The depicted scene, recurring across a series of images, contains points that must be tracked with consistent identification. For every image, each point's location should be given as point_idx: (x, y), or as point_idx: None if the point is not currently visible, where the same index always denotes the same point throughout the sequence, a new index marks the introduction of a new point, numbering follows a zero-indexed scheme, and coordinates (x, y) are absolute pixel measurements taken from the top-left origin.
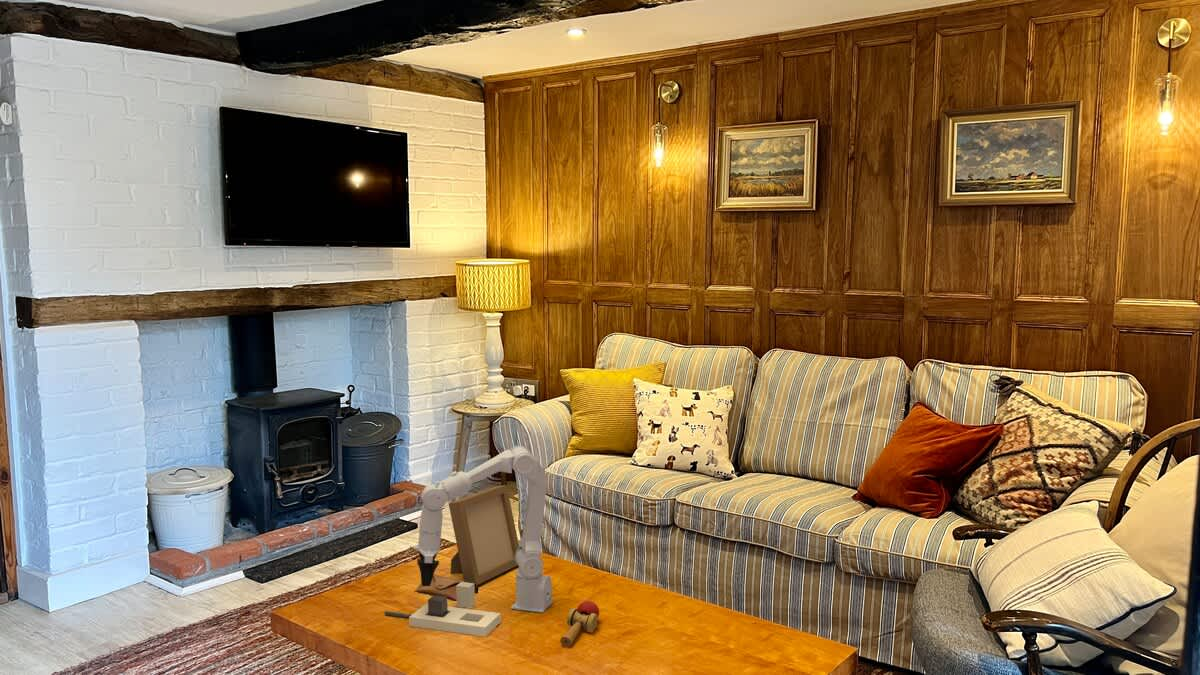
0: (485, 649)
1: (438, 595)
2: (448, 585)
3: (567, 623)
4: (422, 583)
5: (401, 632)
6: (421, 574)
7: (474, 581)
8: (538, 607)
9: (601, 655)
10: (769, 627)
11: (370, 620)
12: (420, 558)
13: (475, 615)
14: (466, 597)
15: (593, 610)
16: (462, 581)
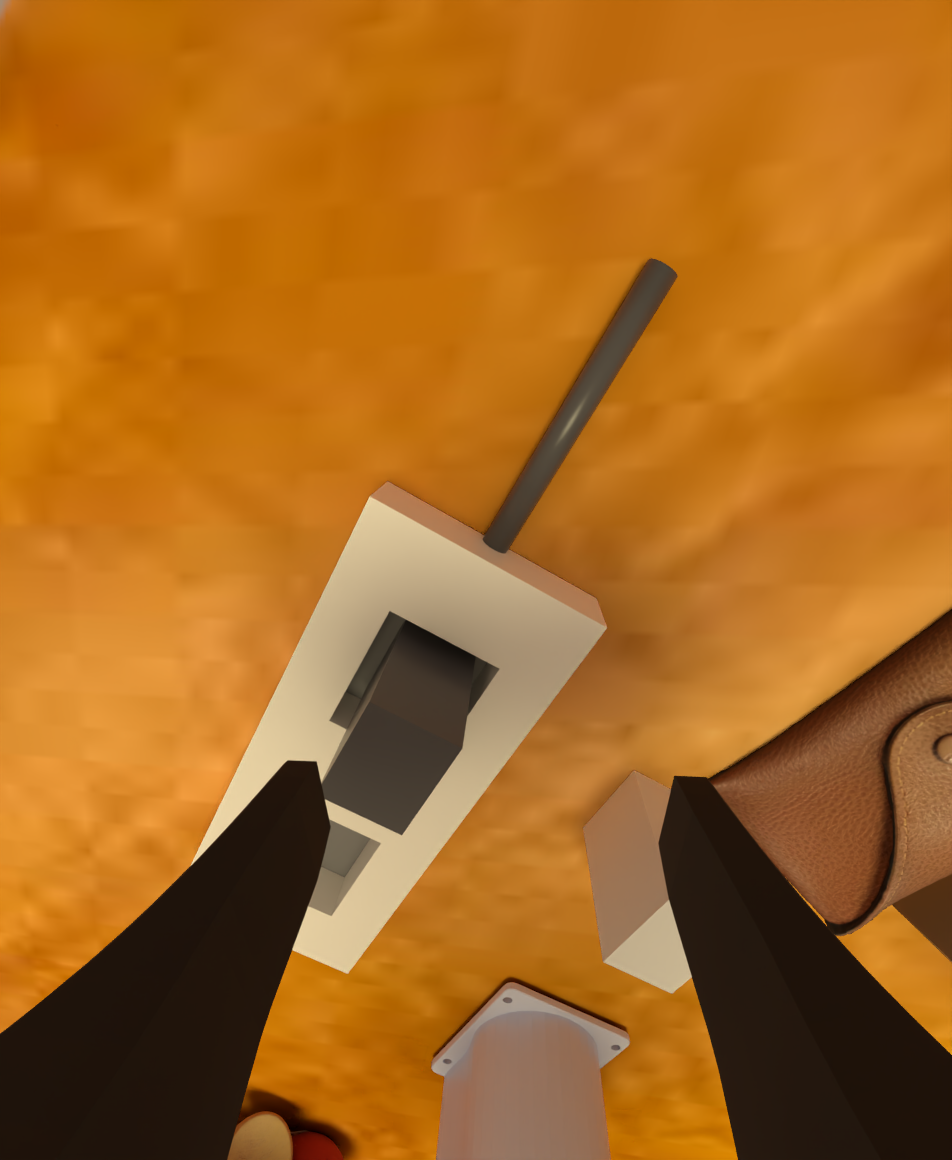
0: (72, 837)
1: (859, 687)
2: (899, 793)
3: (239, 1125)
4: (264, 790)
5: (290, 424)
6: (143, 917)
7: (921, 921)
8: (454, 1074)
9: None
10: None
11: (573, 120)
12: (826, 1074)
13: (359, 871)
14: (605, 871)
15: None
16: (886, 891)
